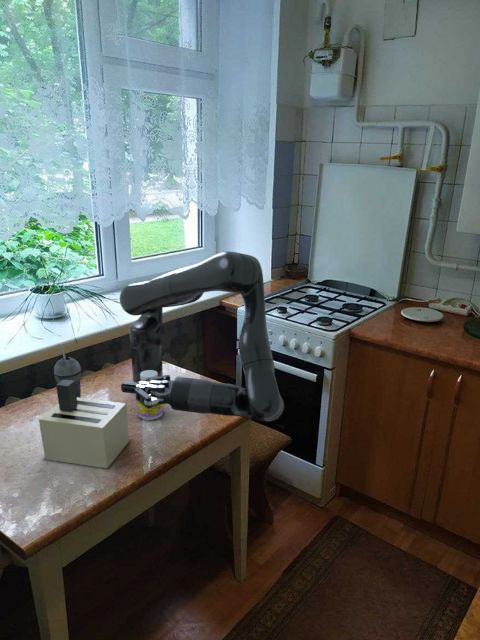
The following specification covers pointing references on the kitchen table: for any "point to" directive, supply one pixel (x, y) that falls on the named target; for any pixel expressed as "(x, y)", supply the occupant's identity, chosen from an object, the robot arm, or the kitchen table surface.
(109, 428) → the toaster
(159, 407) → the supplement bottle
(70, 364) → the beverage cup
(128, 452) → the kitchen table surface
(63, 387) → the slider
